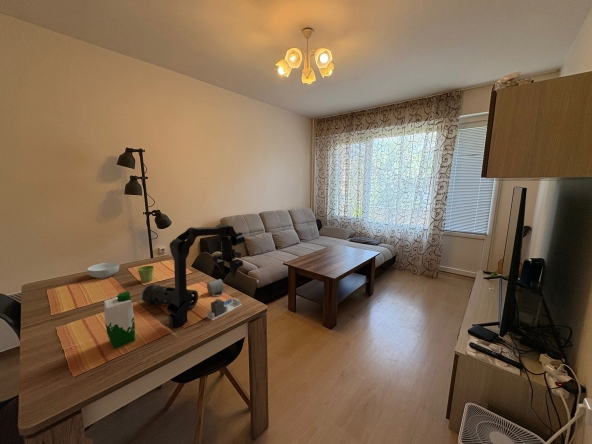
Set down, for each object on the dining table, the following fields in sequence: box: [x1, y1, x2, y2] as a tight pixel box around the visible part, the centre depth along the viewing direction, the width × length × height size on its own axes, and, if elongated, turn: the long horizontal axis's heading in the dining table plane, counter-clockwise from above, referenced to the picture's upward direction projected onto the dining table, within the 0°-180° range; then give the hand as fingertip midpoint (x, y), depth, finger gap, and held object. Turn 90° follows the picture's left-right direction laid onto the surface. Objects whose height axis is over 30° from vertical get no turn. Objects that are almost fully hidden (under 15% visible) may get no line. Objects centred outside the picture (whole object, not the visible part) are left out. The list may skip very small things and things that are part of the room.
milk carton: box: [103, 291, 136, 350], centre depth 94 cm, size 9×9×20 cm
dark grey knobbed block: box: [210, 298, 224, 317], centre depth 114 cm, size 4×4×7 cm
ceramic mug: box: [206, 278, 225, 298], centre depth 135 cm, size 11×8×8 cm
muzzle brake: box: [140, 284, 199, 310], centre depth 121 cm, size 10×28×10 cm, turn 78°
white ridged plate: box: [205, 297, 243, 321], centre depth 118 cm, size 18×7×3 cm, turn 144°
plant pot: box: [136, 265, 155, 283], centre depth 151 cm, size 9×9×9 cm
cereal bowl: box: [86, 261, 120, 279], centre depth 157 cm, size 17×17×7 cm
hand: (228, 275), depth 126 cm, fingers open, 9 cm apart
